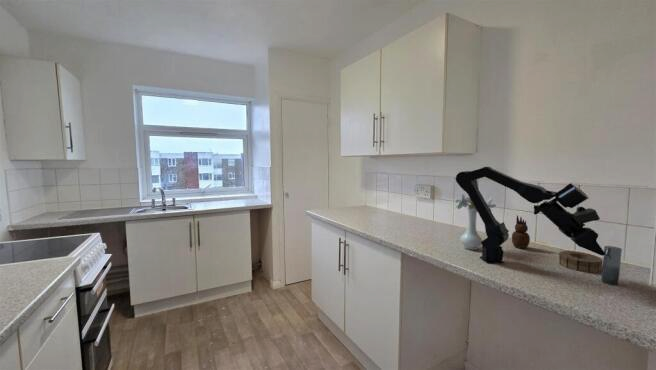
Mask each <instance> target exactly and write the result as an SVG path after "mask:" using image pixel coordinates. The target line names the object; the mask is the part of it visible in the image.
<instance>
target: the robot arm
mask: <svg viewBox="0 0 656 370" xmlns="http://www.w3.org/2000/svg"><path fill="white" fill-rule="evenodd" d="M483 178H487V179H488V180H491V181H492V182H494V183H498V184H499V185H501V186H503V187H506V188H508V189H510V190H513V191H514V192H515V193H516V194H517V195H519V196H520V197H521V198H523V200H526V201H527V202H529V203H531V204H535V205H533V214H534V215H535V216H536V215H537V214H539V213H541V214H543V216H545V217H546V218H547V219H548V220H549V221H551V223H553V225H555V226H556V227H557V228H558V230H559V231H560V232H561V233H562V235H564V236H566V237H567V238H569V239H570V240H571V241H572V242H573V243H575V245H577V246H578V247H580V248H583V249H585V250H587V251H589V252H593V253H595V254H597V255H599V256H602V257H604V255H605V252H604V249H602V247H601V245H600V244H599V243H598V241H597V239H598V237H599V233H597V232H596V231H595V230H594V229H592V228H591V227H585V226H586V223H590V222H594V221H595V222H596V221H599V220H601V218H600V216H599V214H598V212H597V211H596V209H594V208H591V207H589V208H585V207H583V206H582V205H581V203H583V202H585V201H587V200H589V196H588V195H587V194H586V193H585V192H584V191H583V190H582V189H580V188H579V187H577V186H576V185H574V184H573V183H571V182H570V183H569V184H567V185H565V186H564V187H563V188H562V189H560V190H558V191H553V190H547V189H546V188H545V187H544V186H540V185H536V184H533V183H529V182H525V181H521V180H519V179H517V178H514V177H512V176H509V175H507V174H505V173H503V172H501V171H498V170H496V169H494V168H492V167H491V166H483V167H481V168H479V169H475V170H472V171H470V170H465V171H459V172H458V173H457V174H456V176H455V182H456V184H457V185H458V186H459V187H460V188H461V189H462V191H464V192H466V194H467V195H468V197H469V198H470V199H471V201H472V203H473V204H474V206H475V208H476V210H477V213H478V215H479V217H480V219H481V221H482V222H483V225H484V230H485V235H486V238H484V239H482V242H481V244H482V245H481V246H482V247H481V249H482V250H481V251H482V252H481V256H479V259H481V260H482V261H483V262H485V263H486V264H504V263H505V261H504V260H503V259H504V250H503V246H501V245H502V244H504V243H505V242H506V241H508V240H509V238H510V234H509V232H510V230H509V229H507V227H506V224H505V222H501V223H500V222H499V221H498V220H497V219H496V217H495V216H494V214H493V212H492V209H491V208H490V207H488V205H487V203H486V202H487V201H486V200H485V198H484V196H483V194H482V193H481V191H480V190H479V184H478V180H480V179H483ZM549 200H550V201H549ZM485 201H486V202H485ZM543 201H544V202H543ZM541 202H542V203H541ZM539 203H541V204H539ZM536 204H538V205H536ZM578 205H581V206H578ZM576 206H578V207H576ZM575 207H576V211H575V212H574V213H571V212H570V211H568V210H566V208H569V209H574V208H575ZM489 208H490V209H491V210H490V209H489Z"/></svg>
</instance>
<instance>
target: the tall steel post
mask: <svg viewBox="0 0 656 370" xmlns="http://www.w3.org/2000/svg"><path fill="white" fill-rule="evenodd" d="M622 250H623V249H622V248H621V247H617V246H612V245H605V246H604V248H603V251H604V252H605V255H603V256H602V270H601V280H600V281H601V282H602V283H604V284H607V285H610V286H619V283H620V281H619V280H620V272H621V271H620V270H621V261H622V260H621V259H622Z"/></svg>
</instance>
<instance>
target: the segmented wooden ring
mask: <svg viewBox="0 0 656 370" xmlns="http://www.w3.org/2000/svg"><path fill="white" fill-rule="evenodd" d="M558 264H559V265H560V266H562V267H564V268H567V269H569V270H573V271H577V272H584V273H590V274H591V273H596V274H597V273H600V272H602V268H603V258H601V257H600V256H597V255H595V254H591V253H588V252H582V251H576V250H575V251H574V250H561V251H559V252H558Z"/></svg>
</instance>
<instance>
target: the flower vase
mask: <svg viewBox="0 0 656 370" xmlns="http://www.w3.org/2000/svg"><path fill="white" fill-rule="evenodd" d="M492 201H493V197H490V198H489V199H488V200H487V201H486V200H485V202H486V203H487V205H488V207H489V209H490V210H491V211H492V209H491V208H495V207H496V206H497V205H496V203H493V202H492ZM455 205H456V206H455V207H454V209H458V210H460V209H461V208H463V207H464V208H467V210H468V212H467V213H468V221H467V222H468V223H467V228H466V231H465V232H464V233H463V234H462V235H460V238H459V241H460V243H461V244H462V246H463V248H464V249H468V250H479V247H481V246H482V244H481V242H482V241H483V239H482V236H480V234H479V233H478V231H477V227H476V225H477V223H476V221H477V220H476V219H477V213H478V212H477V210H476V208H475V206H474V204H473V203H472V201H471V199H470V197H469V196H467V197H465V194H463V193H462V194H461V196H460V198H459V199H456V200H455Z"/></svg>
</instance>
